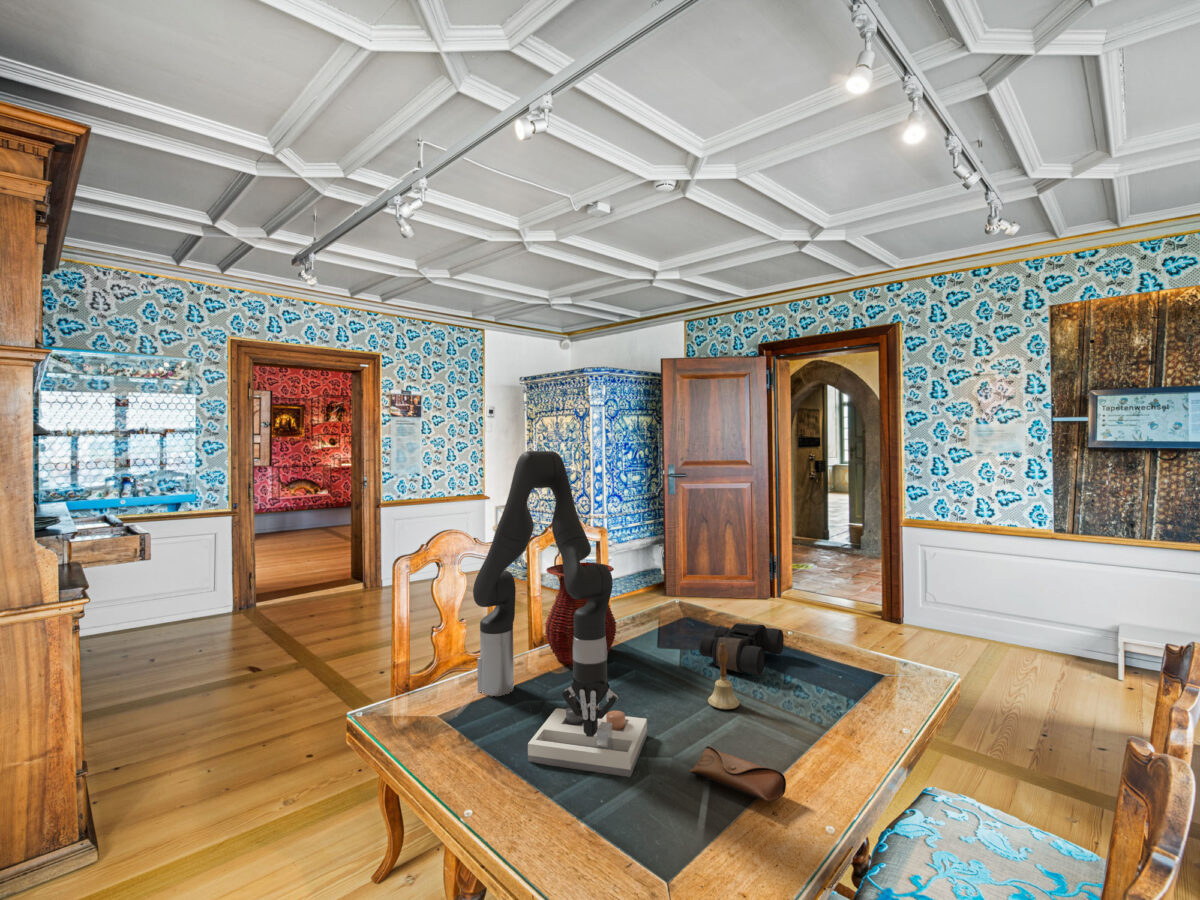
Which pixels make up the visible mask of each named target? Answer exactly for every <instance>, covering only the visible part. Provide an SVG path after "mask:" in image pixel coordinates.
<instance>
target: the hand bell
mask: <svg viewBox="0 0 1200 900" xmlns="http://www.w3.org/2000/svg"><path fill="white" fill-rule="evenodd" d="M727 659H728V654H727V649H726V647H725V643H720V646H719V649H718V660H719V664H720V667H719V668H720V669H719V673H720V674H719V676H720V677H719V679H717V680H716V681H715V683H714V688H713V692H712V693H711V695H710V696H709V697H708V699H707V702H708V704H709V705H710V706H712V707H714V708H717V709H720V710H732V709H736V708H738V707H739V706H740V701H739V698H737V696H735V693H734V689H733V683H732V681H730V680H728V678H727V669H726V664H727Z"/></svg>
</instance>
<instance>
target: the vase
mask: <svg viewBox="0 0 1200 900" xmlns="http://www.w3.org/2000/svg"><path fill="white" fill-rule="evenodd" d="M580 564H581V565H582V566H586V565H592V564H600V563H597V562H596V563H595V562H580ZM603 564H604V565H605V566H607V567H608V569H609V570H610V572H611V573H612V572H613V571H614V570H615V569H614V567H612V565H608V564H605V563H603ZM545 572H546V573H548V574H550V575H554V576H558V577H559V587H558V591H557V594H556V597H555V599H554V601H553V604H552V606H551V609H550V611H549V614H548V615H547V618H546V622H545V623H544V624H545V637H546V640H547V643H548V645H549V647H550V650H552V653H553V654H554V656H555V657H556V658H557V659H558V661H560V662H561V663H564V664H565V665H572V666H573V641H574V613H575V611H576V610H577V609H579V608H581V607H583V606H584V605H586V604H587V602H588V599H589V598H586V599H581V600H577V599H574V598H573V597H571V596H570V595H569V593H568V592H567V590H566V587H565V582H564V570H563V563H561V564H555V565H552V566H549V567H546V570H545ZM617 623H618V622H617V621H616V619H615V616H614V614H613V611H612V609H611V608H610V605H609V604H608V609H607V612H606V616H605V633H606V635H605V636H606V644H607V653H610V649H611V648H612V646H613V644H614V641H615V639H616V633H617V629H616V628H617Z"/></svg>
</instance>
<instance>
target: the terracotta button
mask: <svg viewBox="0 0 1200 900" xmlns="http://www.w3.org/2000/svg"><path fill="white" fill-rule="evenodd" d="M625 716H626V713H625V712H624V711H621V710H611V711H610V710H609V711H608V712H607V713H606V722H609V723H612V730H622V729H624V728H625Z"/></svg>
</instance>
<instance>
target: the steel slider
mask: <svg viewBox="0 0 1200 900" xmlns="http://www.w3.org/2000/svg"><path fill="white" fill-rule="evenodd" d="M597 748H600V749H608V750H612V723H609V722H601V724H600V726H599V727H598V729H597Z"/></svg>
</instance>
